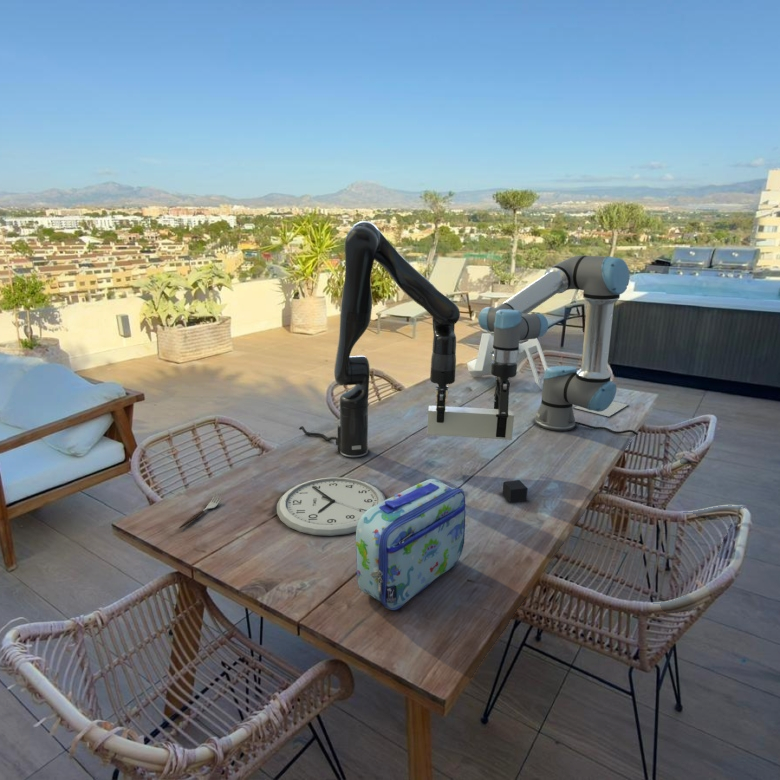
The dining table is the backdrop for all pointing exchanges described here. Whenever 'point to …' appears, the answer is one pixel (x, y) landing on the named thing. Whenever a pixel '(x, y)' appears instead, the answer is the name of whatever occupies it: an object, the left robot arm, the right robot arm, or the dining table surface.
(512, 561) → the dining table surface
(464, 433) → the bar
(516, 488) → the rubber block
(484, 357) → the white plastic object
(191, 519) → the fork
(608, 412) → the invitation card
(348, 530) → the wall clock
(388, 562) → the lunch box
